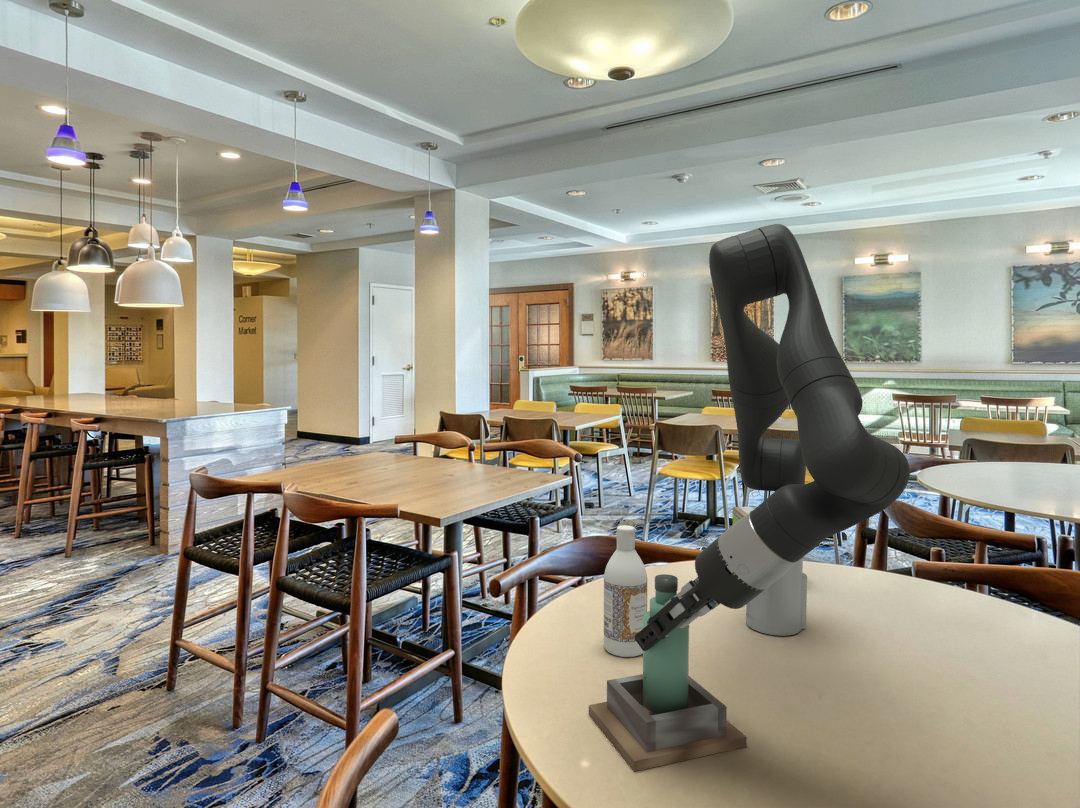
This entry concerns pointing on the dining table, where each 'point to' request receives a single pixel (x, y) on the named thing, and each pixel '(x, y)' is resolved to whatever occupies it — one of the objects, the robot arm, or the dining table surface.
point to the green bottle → (666, 658)
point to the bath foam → (624, 596)
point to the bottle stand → (663, 725)
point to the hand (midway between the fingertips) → (652, 635)
